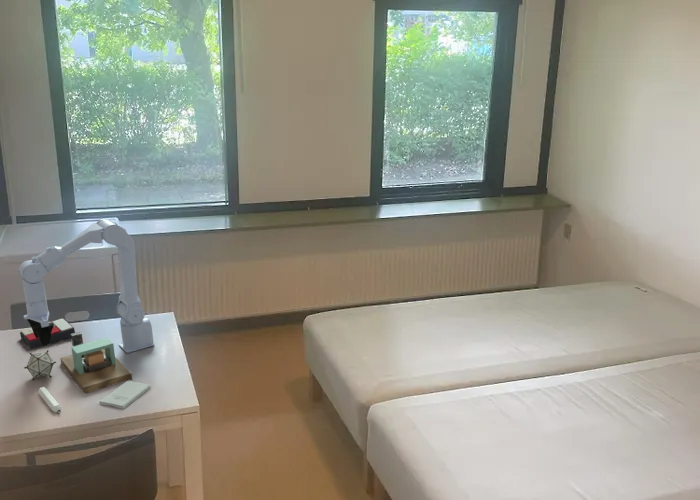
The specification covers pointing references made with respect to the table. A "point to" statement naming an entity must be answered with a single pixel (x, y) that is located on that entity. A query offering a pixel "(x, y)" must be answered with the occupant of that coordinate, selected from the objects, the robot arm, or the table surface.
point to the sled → (78, 340)
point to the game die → (40, 365)
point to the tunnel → (90, 348)
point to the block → (94, 358)
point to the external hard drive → (125, 394)
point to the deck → (96, 374)
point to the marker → (49, 399)
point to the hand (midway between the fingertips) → (42, 340)
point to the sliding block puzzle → (59, 332)
